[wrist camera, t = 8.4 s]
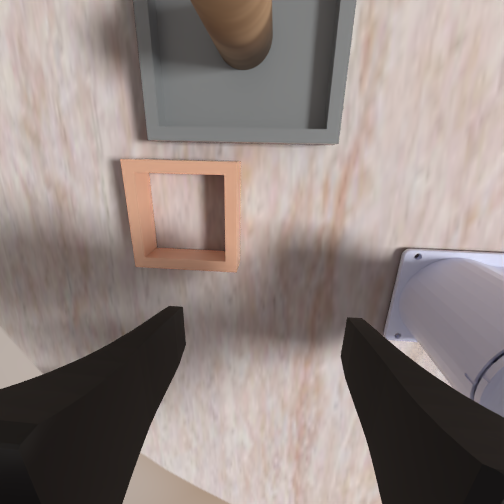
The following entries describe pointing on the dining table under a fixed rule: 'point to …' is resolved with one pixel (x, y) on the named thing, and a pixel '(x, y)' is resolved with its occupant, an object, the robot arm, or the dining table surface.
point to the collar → (143, 215)
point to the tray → (245, 76)
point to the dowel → (238, 29)
